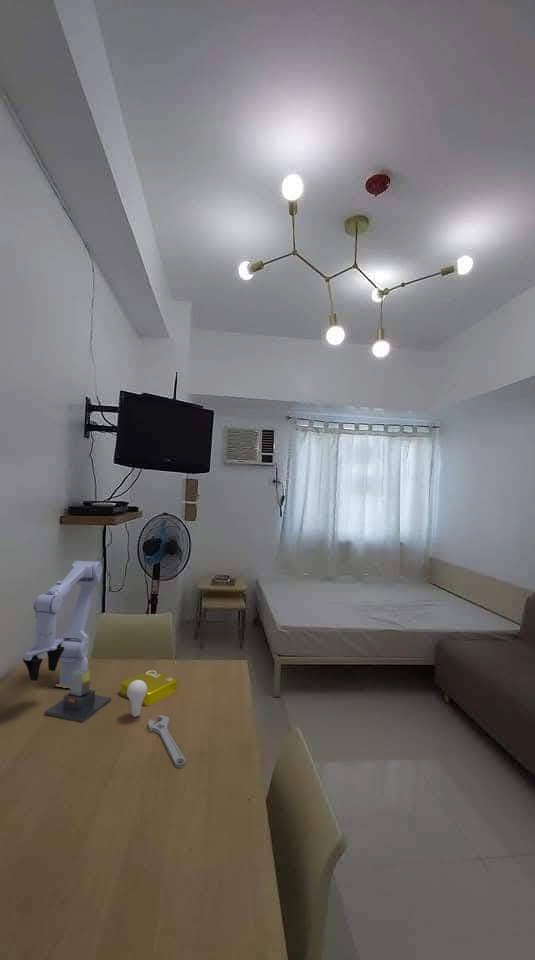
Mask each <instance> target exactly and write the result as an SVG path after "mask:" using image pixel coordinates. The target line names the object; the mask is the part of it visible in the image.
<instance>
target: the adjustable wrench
mask: <svg viewBox="0 0 535 960" xmlns="http://www.w3.org/2000/svg"><path fill="white" fill-rule="evenodd" d="M157 720H158V722H156V721H155V720H153V719H151V718H150V719H149V720H148V723H147V724H148V727H147V728H148V732H150V733H151V732H152V733H156V734H158V735H159V736H160V738H161V740H162V742H163V745H164V746H165V748H166V750H167V752H168V755H169V757H170V759H171V760H172V763H173V765H174V767H176V768H177V769H183V768H184V767H185V765H186V758H185V757H184V754H182V751H181V750H180V748H179V746H178V745H177V744H176V741H175V740H174V738H173V737H172V735H171V734H170V732H169V730H168V727H169V723H170V718H169V717H168V716H167V715H162V714H160V715H158V716H157Z"/></svg>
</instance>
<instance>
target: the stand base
mask: <svg viewBox="0 0 535 960" xmlns="http://www.w3.org/2000/svg"><path fill="white" fill-rule="evenodd" d="M110 702H112V697H108V696H102V695H99V694H98V695H97V694H96V690H94V689H90V688H89V692H88V693H86V694H85V695H84V697H82V698H78V697H72V696H70V692H69V693H67V694H64V696H63V699H61V700H60V701H58V702H57V703H55V704H53V705H52V706H51V707H49V708H47V709H46V710H45V711H44V713H43V715H44V714H47V715H46V716H48V715H51V716H50V717H53V716H56V717H55V718H58V717H60V718H59V719H65V720H69V721H74V722H78V723H79V722H80V723H84V722H86V721H87V720H88V719H89V718H91V717H92V716H93V715H95V714H96V713H98V712H99V711H100V710H101V709H103V708H104V707H105V706H106V705H108V704H109V703H110Z"/></svg>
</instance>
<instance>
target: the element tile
mask: <svg viewBox="0 0 535 960" xmlns="http://www.w3.org/2000/svg"><path fill="white" fill-rule="evenodd" d="M135 680H142V681H144V682H145V684H146V686H147V693H146V695H145V697H144V699H143V701H142V705H141V706H151V705H154V704H155V703H157V702H160V701H161V700H163V699H165V698H166V697H169V696H170V695H173V694H174V693H177V691H178V678H176V677H174V676H171V675H168V674H166V673H164V672H160V671H157V670H155V669H149V670H145V671H144V672H141V673H138V674H136V675H133V676H131V677H129V678H127V679H124V680H122V681H121V682H120V690H119V695H120V694H121V695H120V696H122V697H123V698H126V699H128V696H127V688H128V686H129V685H130V683H131V682H133V681H135Z"/></svg>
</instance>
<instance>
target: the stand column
mask: <svg viewBox="0 0 535 960" xmlns="http://www.w3.org/2000/svg"><path fill="white" fill-rule="evenodd" d="M90 684H91V669H89V668H88V669H82V668H80V669H78V670H76V671H74V672H72V674H71V690H69V691H70V692H69V693H70V696H72V697H78V698H82V697H84V695H85V694H86V693H88V692H89V689H90V686H91V685H90Z"/></svg>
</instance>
